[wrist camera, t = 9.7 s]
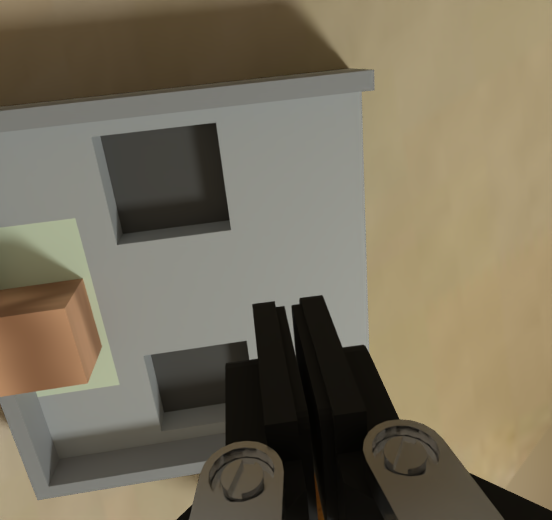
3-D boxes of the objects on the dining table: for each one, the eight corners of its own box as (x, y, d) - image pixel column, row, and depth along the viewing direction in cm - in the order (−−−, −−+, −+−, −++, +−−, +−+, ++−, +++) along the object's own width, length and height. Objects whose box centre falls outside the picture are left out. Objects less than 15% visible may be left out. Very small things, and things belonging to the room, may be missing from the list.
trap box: (349, 68, 30) (373, 69, 26) (361, 399, 40) (381, 443, 35) (-57, 112, 28) (-109, 123, 24) (58, 446, 38) (37, 500, 33)
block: (82, 278, 31) (64, 308, 27) (102, 346, 32) (87, 383, 29) (0, 289, 30) (-30, 321, 27) (24, 358, 32) (0, 397, 28)
